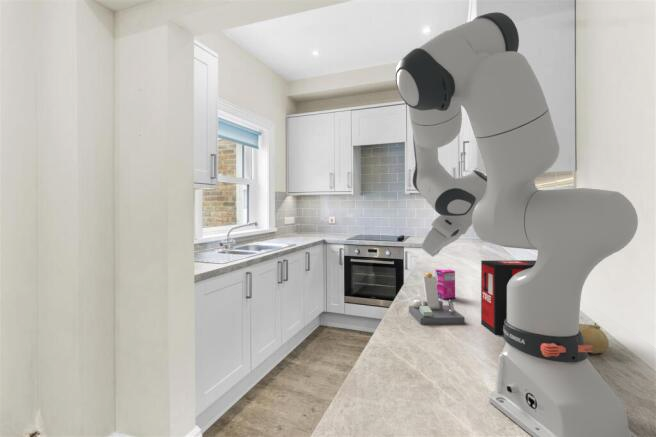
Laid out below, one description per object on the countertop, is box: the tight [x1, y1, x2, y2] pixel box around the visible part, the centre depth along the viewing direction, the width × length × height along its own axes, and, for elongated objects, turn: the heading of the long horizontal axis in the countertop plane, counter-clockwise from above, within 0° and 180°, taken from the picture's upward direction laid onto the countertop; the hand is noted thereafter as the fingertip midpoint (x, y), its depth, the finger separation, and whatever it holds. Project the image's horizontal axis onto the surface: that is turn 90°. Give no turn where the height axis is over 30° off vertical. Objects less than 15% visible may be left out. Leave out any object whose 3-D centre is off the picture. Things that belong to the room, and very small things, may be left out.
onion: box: [579, 322, 610, 355], centre depth 81 cm, size 8×8×7 cm
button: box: [412, 299, 423, 308], centre depth 111 cm, size 3×3×2 cm
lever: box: [422, 272, 440, 309], centre depth 111 cm, size 2×4×12 cm, turn 92°
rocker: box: [419, 305, 432, 316], centre depth 103 cm, size 4×3×1 cm
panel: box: [408, 300, 466, 325], centre depth 107 cm, size 13×14×5 cm
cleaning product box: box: [480, 259, 536, 336], centre depth 95 cm, size 16×9×20 cm, turn 88°
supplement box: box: [434, 268, 456, 301], centre depth 131 cm, size 6×6×12 cm
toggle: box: [448, 299, 457, 313], centre depth 105 cm, size 1×2×4 cm, turn 92°
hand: (433, 254), depth 104 cm, fingers closed
